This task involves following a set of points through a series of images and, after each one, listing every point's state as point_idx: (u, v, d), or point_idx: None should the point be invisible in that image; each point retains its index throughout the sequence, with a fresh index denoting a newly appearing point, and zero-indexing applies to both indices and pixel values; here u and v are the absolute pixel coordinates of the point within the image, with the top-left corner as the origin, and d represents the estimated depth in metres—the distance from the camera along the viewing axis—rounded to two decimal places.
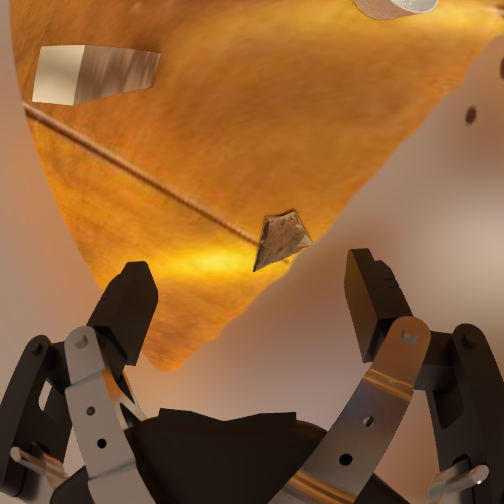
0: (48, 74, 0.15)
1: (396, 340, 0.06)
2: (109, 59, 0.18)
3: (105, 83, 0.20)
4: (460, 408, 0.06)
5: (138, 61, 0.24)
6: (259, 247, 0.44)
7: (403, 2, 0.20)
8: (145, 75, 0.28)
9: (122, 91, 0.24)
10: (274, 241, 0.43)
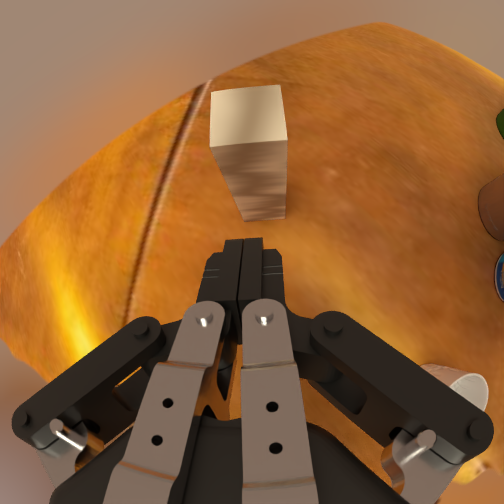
0: (246, 103, 0.18)
1: (253, 327, 0.07)
2: (270, 172, 0.22)
3: (241, 176, 0.22)
4: None
5: (272, 200, 0.28)
6: None
7: None
8: (257, 212, 0.32)
9: (234, 196, 0.27)
10: None
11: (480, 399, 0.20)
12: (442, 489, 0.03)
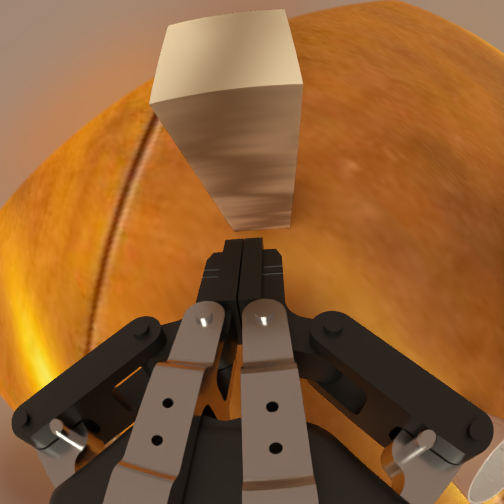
0: (224, 33, 0.08)
1: (253, 327, 0.07)
2: (269, 154, 0.12)
3: (219, 162, 0.13)
4: None
5: (271, 203, 0.19)
6: None
7: None
8: (251, 219, 0.22)
9: (213, 196, 0.17)
10: None
11: None
12: (442, 489, 0.03)
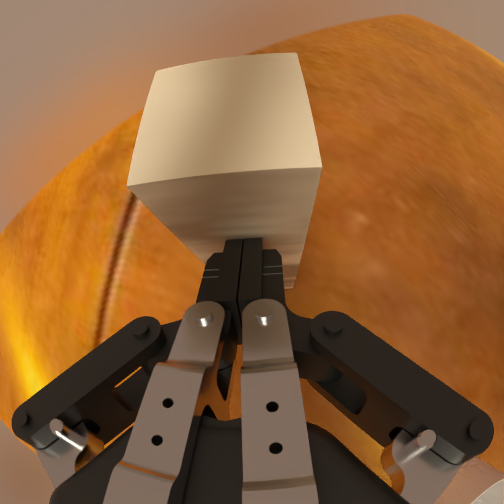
0: (221, 85, 0.08)
1: (253, 327, 0.07)
2: (274, 235, 0.11)
3: (216, 241, 0.12)
4: None
5: None
6: None
7: None
8: None
9: None
10: None
11: (503, 493, 0.10)
12: (442, 489, 0.03)
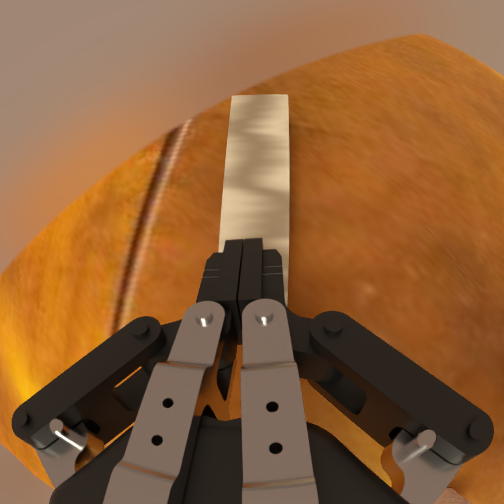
0: None
1: (253, 327, 0.07)
2: (273, 135, 0.22)
3: (244, 139, 0.22)
4: None
5: (270, 212, 0.21)
6: None
7: None
8: None
9: (225, 186, 0.21)
10: None
11: None
12: (442, 489, 0.03)
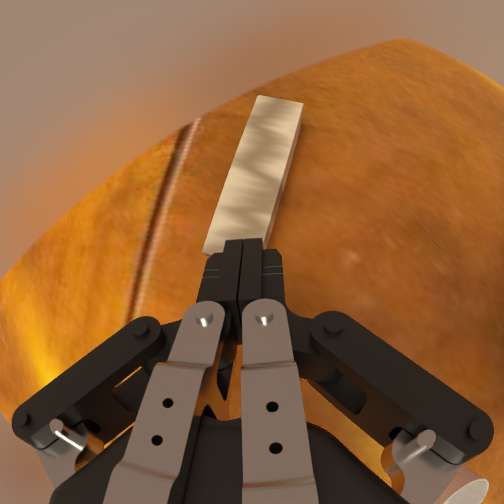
0: None
1: (253, 327, 0.07)
2: (281, 134, 0.27)
3: (258, 132, 0.27)
4: None
5: (262, 192, 0.26)
6: None
7: None
8: (232, 222, 0.25)
9: (233, 165, 0.26)
10: None
11: (479, 492, 0.13)
12: (442, 489, 0.03)
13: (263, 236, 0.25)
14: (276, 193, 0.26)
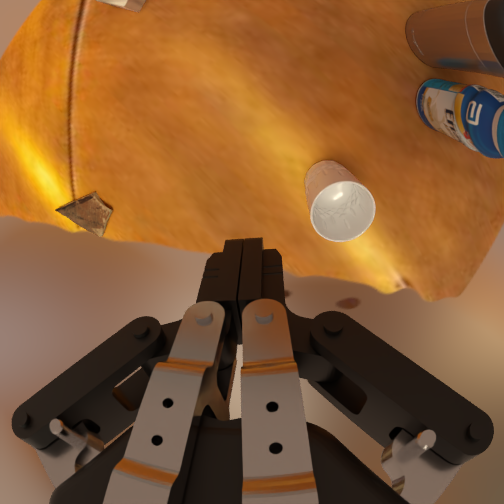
0: None
1: (253, 327, 0.07)
2: None
3: None
4: None
5: None
6: (72, 202, 0.41)
7: (336, 207, 0.39)
8: None
9: None
10: (83, 210, 0.42)
11: (369, 209, 0.32)
12: (442, 489, 0.03)
13: None
14: None
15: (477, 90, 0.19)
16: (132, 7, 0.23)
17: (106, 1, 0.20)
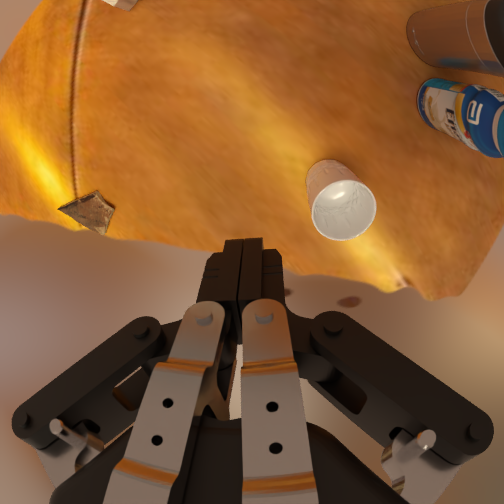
0: None
1: (253, 327, 0.07)
2: None
3: None
4: None
5: None
6: (74, 201, 0.41)
7: (337, 206, 0.39)
8: None
9: None
10: (85, 209, 0.42)
11: (370, 208, 0.32)
12: (442, 489, 0.03)
13: None
14: None
15: (478, 90, 0.19)
16: (122, 6, 0.23)
17: None
